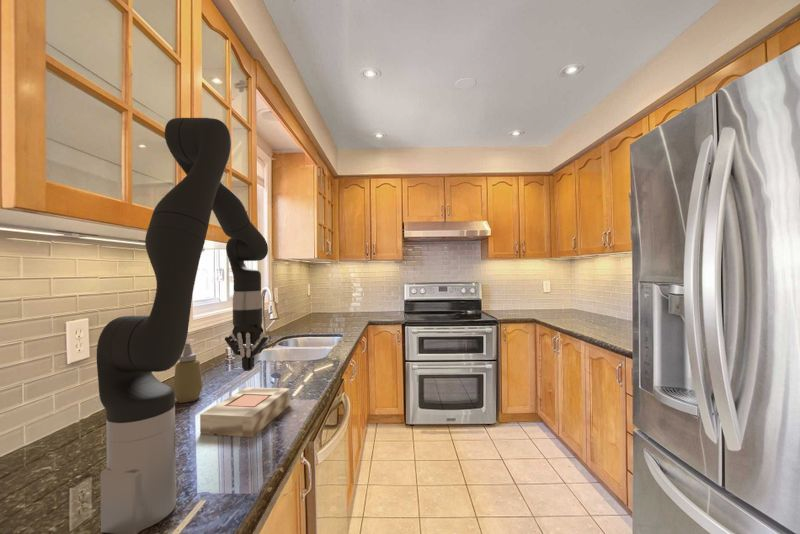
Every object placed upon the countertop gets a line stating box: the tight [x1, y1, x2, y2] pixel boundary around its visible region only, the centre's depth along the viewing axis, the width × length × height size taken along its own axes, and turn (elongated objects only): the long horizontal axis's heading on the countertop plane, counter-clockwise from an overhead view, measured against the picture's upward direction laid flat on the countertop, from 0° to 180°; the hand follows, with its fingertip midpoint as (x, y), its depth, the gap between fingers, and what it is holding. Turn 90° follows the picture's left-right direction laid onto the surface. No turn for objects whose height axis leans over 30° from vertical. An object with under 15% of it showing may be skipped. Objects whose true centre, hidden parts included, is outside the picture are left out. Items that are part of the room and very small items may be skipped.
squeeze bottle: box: [172, 342, 204, 404], centre depth 110 cm, size 8×8×18 cm
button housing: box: [199, 386, 291, 438], centre depth 95 cm, size 20×14×5 cm
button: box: [228, 395, 269, 407], centre depth 95 cm, size 8×8×4 cm
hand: (248, 370), depth 95 cm, fingers closed
